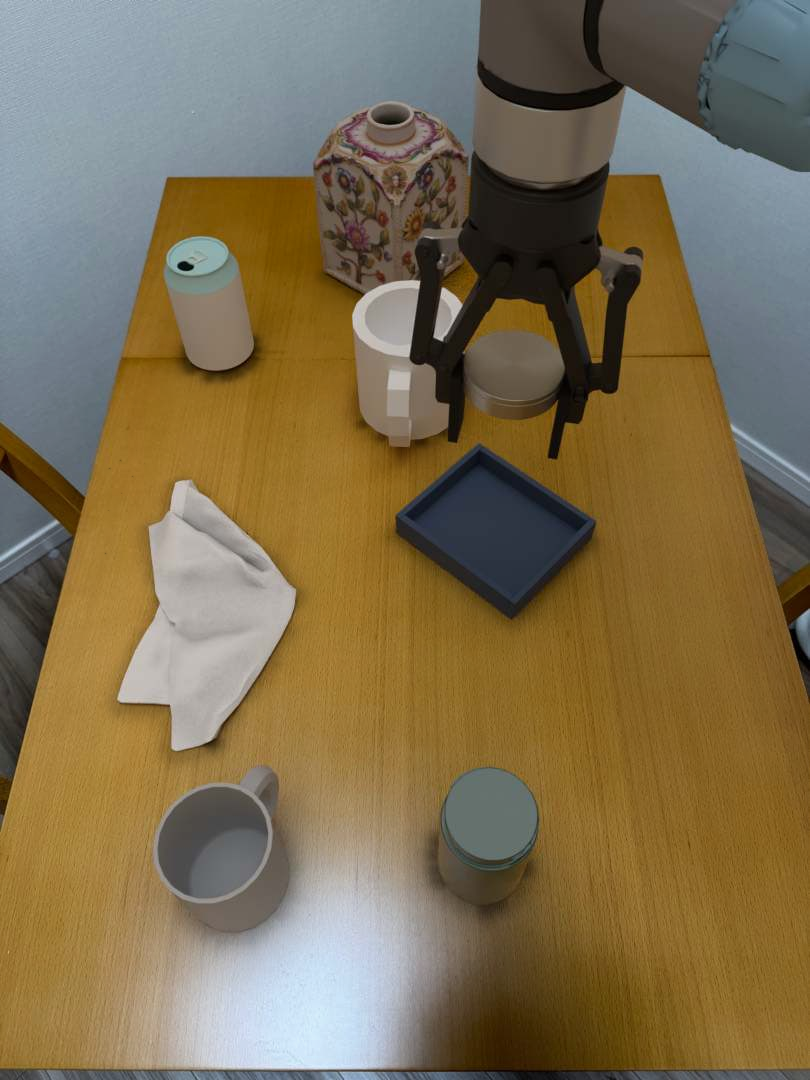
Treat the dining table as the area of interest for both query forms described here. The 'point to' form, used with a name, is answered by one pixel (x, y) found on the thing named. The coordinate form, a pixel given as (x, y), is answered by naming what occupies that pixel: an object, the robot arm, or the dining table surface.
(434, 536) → the tray
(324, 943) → the dining table surface
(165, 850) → the cup
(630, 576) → the dining table surface
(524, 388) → the lid
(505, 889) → the jar
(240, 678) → the cloth
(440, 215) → the decorative jar
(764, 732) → the dining table surface
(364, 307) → the mug
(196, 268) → the can
